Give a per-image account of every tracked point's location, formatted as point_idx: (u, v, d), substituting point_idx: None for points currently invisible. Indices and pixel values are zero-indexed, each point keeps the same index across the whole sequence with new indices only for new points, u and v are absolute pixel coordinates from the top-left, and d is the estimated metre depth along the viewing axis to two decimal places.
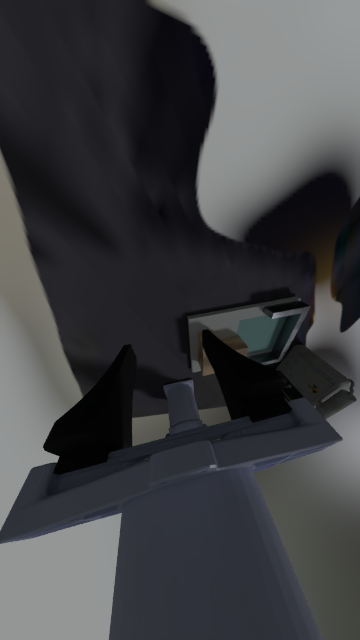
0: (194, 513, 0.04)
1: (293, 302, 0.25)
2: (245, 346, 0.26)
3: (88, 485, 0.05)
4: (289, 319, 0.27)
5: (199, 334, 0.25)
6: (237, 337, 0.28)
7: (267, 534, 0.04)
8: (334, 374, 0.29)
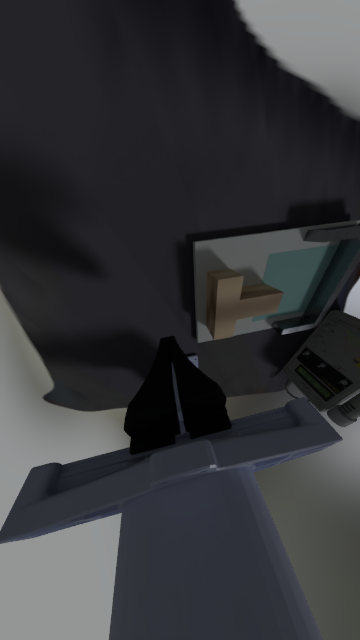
0: (194, 513, 0.04)
1: (350, 224, 0.17)
2: (278, 291, 0.17)
3: (88, 485, 0.05)
4: (339, 256, 0.19)
5: (210, 272, 0.17)
6: (263, 284, 0.19)
7: (267, 534, 0.04)
8: None
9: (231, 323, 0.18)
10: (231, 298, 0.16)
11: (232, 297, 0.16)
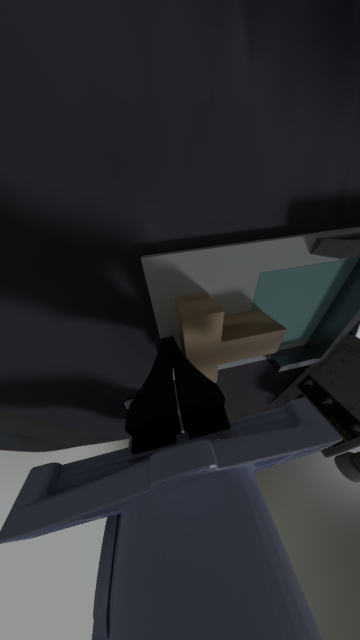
0: (194, 513, 0.04)
1: None
2: (279, 327, 0.12)
3: (88, 485, 0.05)
4: None
5: (178, 299, 0.11)
6: (257, 312, 0.14)
7: (267, 534, 0.04)
8: None
9: (211, 369, 0.13)
10: (207, 341, 0.11)
11: (209, 340, 0.11)
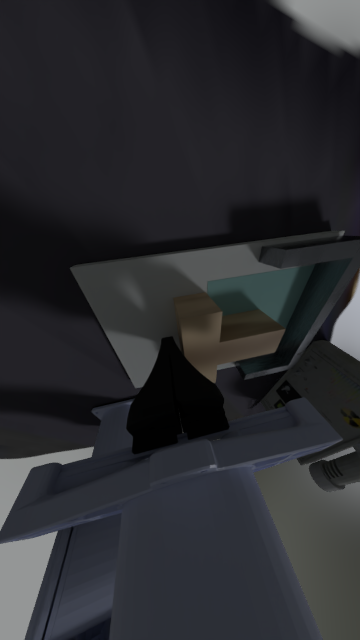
0: (194, 513, 0.04)
1: (329, 237, 0.11)
2: (277, 327, 0.12)
3: (88, 485, 0.05)
4: (315, 283, 0.13)
5: (176, 300, 0.11)
6: (256, 312, 0.14)
7: (267, 534, 0.04)
8: None
9: (210, 369, 0.13)
10: (206, 341, 0.11)
11: (207, 340, 0.11)
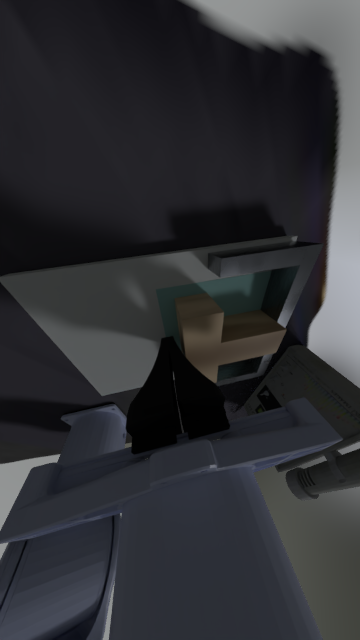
0: (194, 513, 0.04)
1: (279, 243, 0.10)
2: (278, 327, 0.12)
3: (88, 485, 0.05)
4: (273, 289, 0.12)
5: (178, 300, 0.11)
6: (257, 312, 0.14)
7: (267, 534, 0.04)
8: None
9: (211, 369, 0.13)
10: (207, 341, 0.11)
11: (209, 340, 0.11)
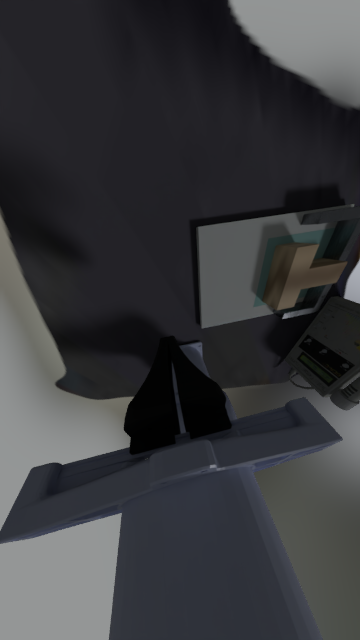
0: (194, 513, 0.04)
1: None
2: (341, 261, 0.19)
3: (88, 485, 0.05)
4: (336, 239, 0.20)
5: (280, 245, 0.19)
6: (321, 258, 0.21)
7: (267, 534, 0.04)
8: None
9: (295, 292, 0.20)
10: (303, 266, 0.18)
11: (304, 265, 0.18)
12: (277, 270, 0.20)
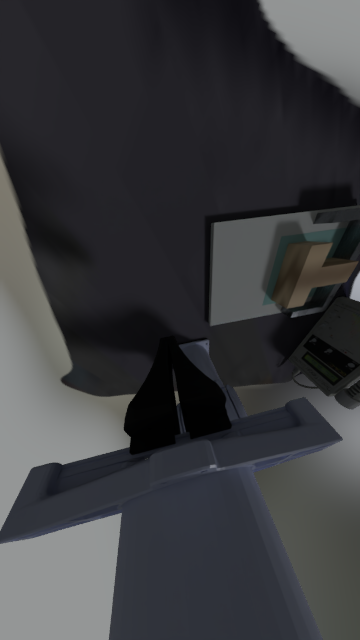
0: (194, 512, 0.04)
1: None
2: (352, 261, 0.19)
3: (88, 485, 0.05)
4: (347, 239, 0.20)
5: (293, 243, 0.19)
6: (331, 258, 0.21)
7: (267, 534, 0.04)
8: None
9: (306, 291, 0.20)
10: (315, 265, 0.18)
11: (316, 264, 0.18)
12: (289, 268, 0.20)
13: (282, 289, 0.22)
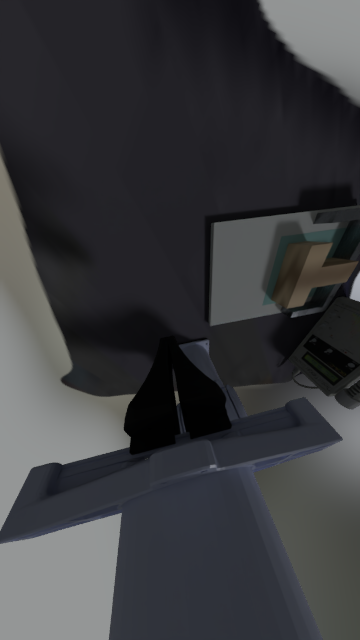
0: (194, 512, 0.04)
1: None
2: (352, 261, 0.19)
3: (88, 485, 0.05)
4: (347, 239, 0.20)
5: (293, 243, 0.19)
6: (331, 258, 0.21)
7: (267, 534, 0.04)
8: None
9: (306, 291, 0.20)
10: (315, 265, 0.18)
11: (316, 264, 0.18)
12: (289, 268, 0.20)
13: (282, 289, 0.22)
